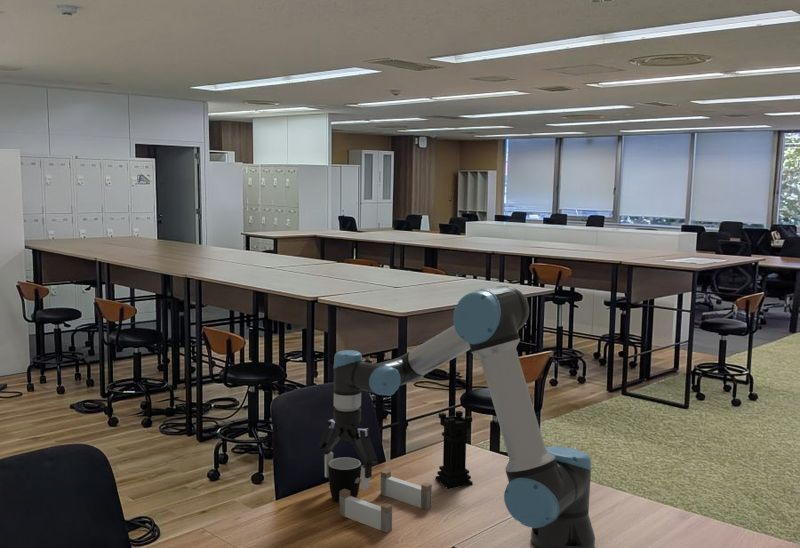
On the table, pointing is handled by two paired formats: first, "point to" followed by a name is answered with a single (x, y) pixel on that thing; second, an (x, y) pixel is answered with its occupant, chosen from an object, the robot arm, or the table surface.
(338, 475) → the mug
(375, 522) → the chute
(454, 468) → the chess piece
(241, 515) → the table surface
